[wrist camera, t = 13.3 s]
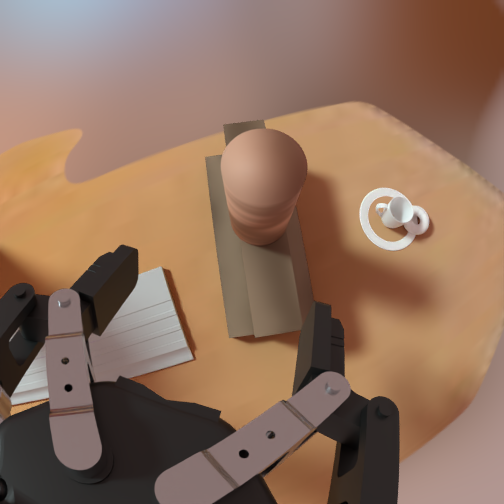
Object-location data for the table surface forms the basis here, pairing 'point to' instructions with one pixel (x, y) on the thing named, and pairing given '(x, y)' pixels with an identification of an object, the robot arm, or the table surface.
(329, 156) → the table surface
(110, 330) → the baseboard molding
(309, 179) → the table surface
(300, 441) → the robot arm
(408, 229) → the teacup and saucer
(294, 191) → the pink domed cylinder
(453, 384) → the table surface
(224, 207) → the ridge
